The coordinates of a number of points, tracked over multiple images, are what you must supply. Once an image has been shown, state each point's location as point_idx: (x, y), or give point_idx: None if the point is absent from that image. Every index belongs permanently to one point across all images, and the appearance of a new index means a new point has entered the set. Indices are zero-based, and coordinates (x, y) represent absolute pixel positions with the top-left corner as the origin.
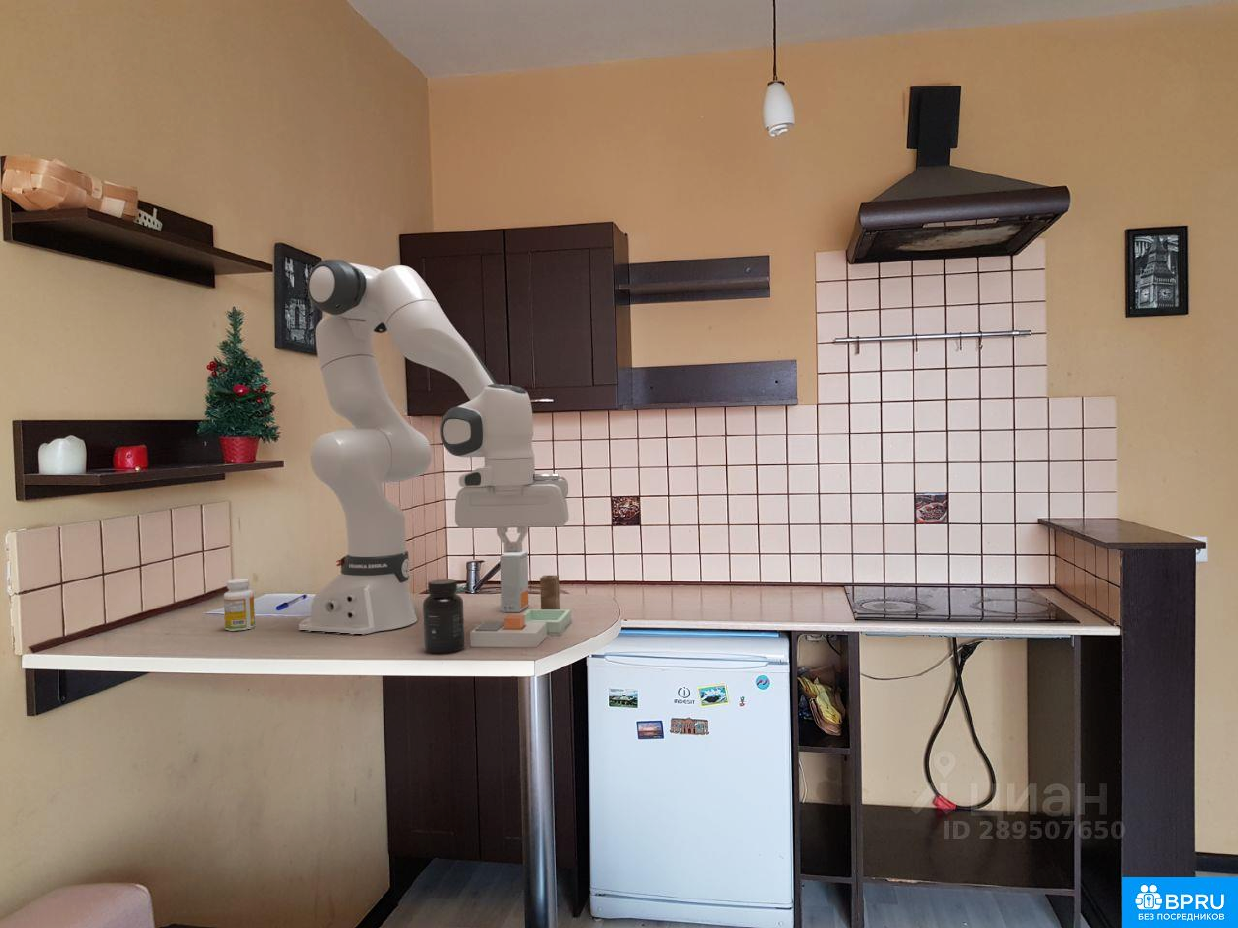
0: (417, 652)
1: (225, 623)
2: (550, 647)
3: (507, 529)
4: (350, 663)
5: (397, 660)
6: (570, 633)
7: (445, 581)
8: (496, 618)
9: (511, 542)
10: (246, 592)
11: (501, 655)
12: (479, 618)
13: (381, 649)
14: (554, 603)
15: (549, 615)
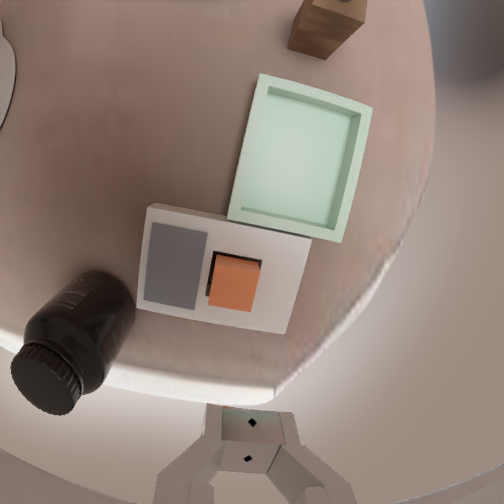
0: None
1: None
2: (306, 321)
3: (213, 501)
4: (10, 347)
5: None
6: (353, 218)
7: (49, 394)
8: (173, 39)
9: (240, 462)
10: None
11: (215, 359)
12: (132, 37)
13: (9, 283)
14: (332, 47)
15: (315, 102)
